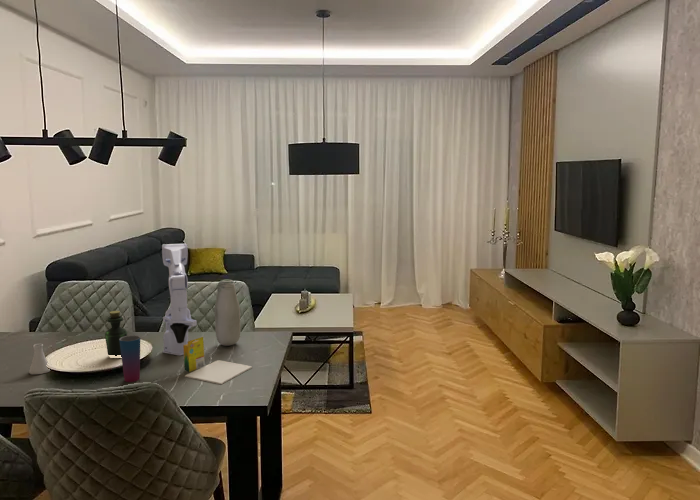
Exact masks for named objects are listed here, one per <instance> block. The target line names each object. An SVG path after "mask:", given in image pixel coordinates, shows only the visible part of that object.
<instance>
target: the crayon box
mask: <svg viewBox="0 0 700 500" xmlns="http://www.w3.org/2000/svg"><path fill="white" fill-rule="evenodd" d="M204 346H205V345H204V336H201V337H198V338H195V339H192V340H188V344H186V345H183V348H184V354H183V361H184V362H183V363H184V365H183V366H184V367H183V368H184V372H187V373H191V372H194V371H196V370H198V369H200V368H202V367H204V366H206V365H205V363H206V361H205V347H204Z"/></svg>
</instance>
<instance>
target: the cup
mask: <svg viewBox="0 0 700 500" xmlns="http://www.w3.org/2000/svg"><path fill="white" fill-rule="evenodd" d="M119 341H120V349H121V357H122V358H121V363H122V373H123V381H124V382H127V383H134V382H137V381H139V380H140V378H141V377H140V376H141V336H140V335H135V334H133V335H127V336H124V337H121V338H120V339H119Z"/></svg>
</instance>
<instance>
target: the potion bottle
mask: <svg viewBox="0 0 700 500" xmlns="http://www.w3.org/2000/svg"><path fill="white" fill-rule="evenodd" d="M120 314H121V311H120V310H111V311H109V317H107V320H106V322H107V323H110V326H111V327H110V328H108V329H107V330H106V331H105V333H104V338H105V344H106V352H107V356H108V355H115V356H117V355H121V349H120V341H119V339H120V338H121V337H124V336H128V331H127V330H126V328H123V327H121V322H123V321H124V318H123V316H121V315H120Z"/></svg>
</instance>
